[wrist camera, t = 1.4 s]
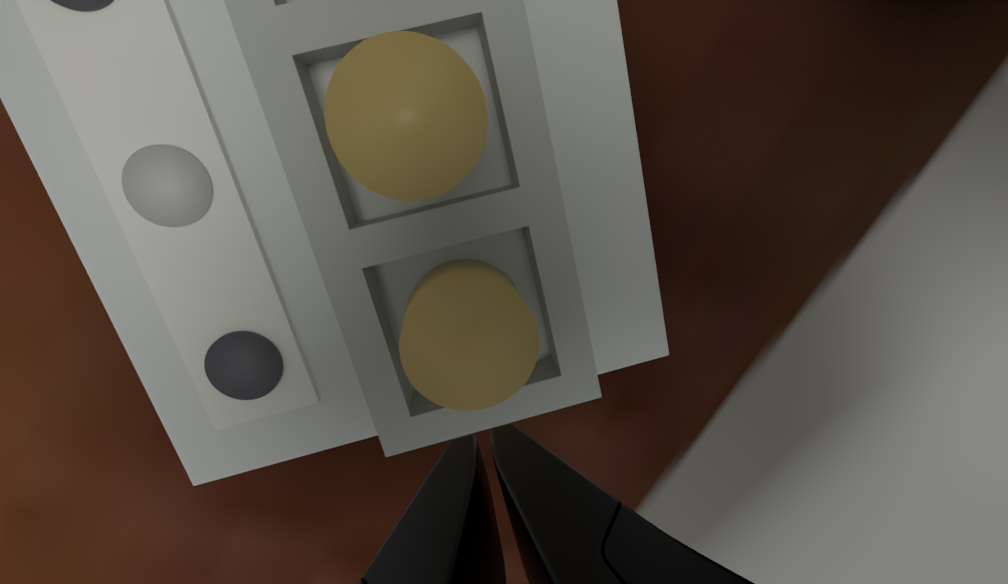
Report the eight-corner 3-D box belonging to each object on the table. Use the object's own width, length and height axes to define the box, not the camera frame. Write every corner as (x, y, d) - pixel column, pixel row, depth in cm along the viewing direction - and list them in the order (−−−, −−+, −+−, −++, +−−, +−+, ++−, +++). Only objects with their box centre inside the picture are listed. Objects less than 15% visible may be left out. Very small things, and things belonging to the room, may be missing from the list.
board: (559, -292, 14) (586, -388, 12) (657, 345, 20) (689, 372, 17) (-100, -163, 13) (-226, -238, 11) (206, 469, 19) (170, 516, 16)
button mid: (460, 38, 14) (465, 13, 11) (492, 175, 15) (503, 180, 12) (325, 70, 14) (300, 51, 11) (368, 206, 15) (354, 217, 12)
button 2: (509, 246, 16) (522, 263, 13) (534, 354, 17) (551, 390, 14) (390, 276, 15) (380, 300, 13) (423, 384, 16) (421, 426, 14)
